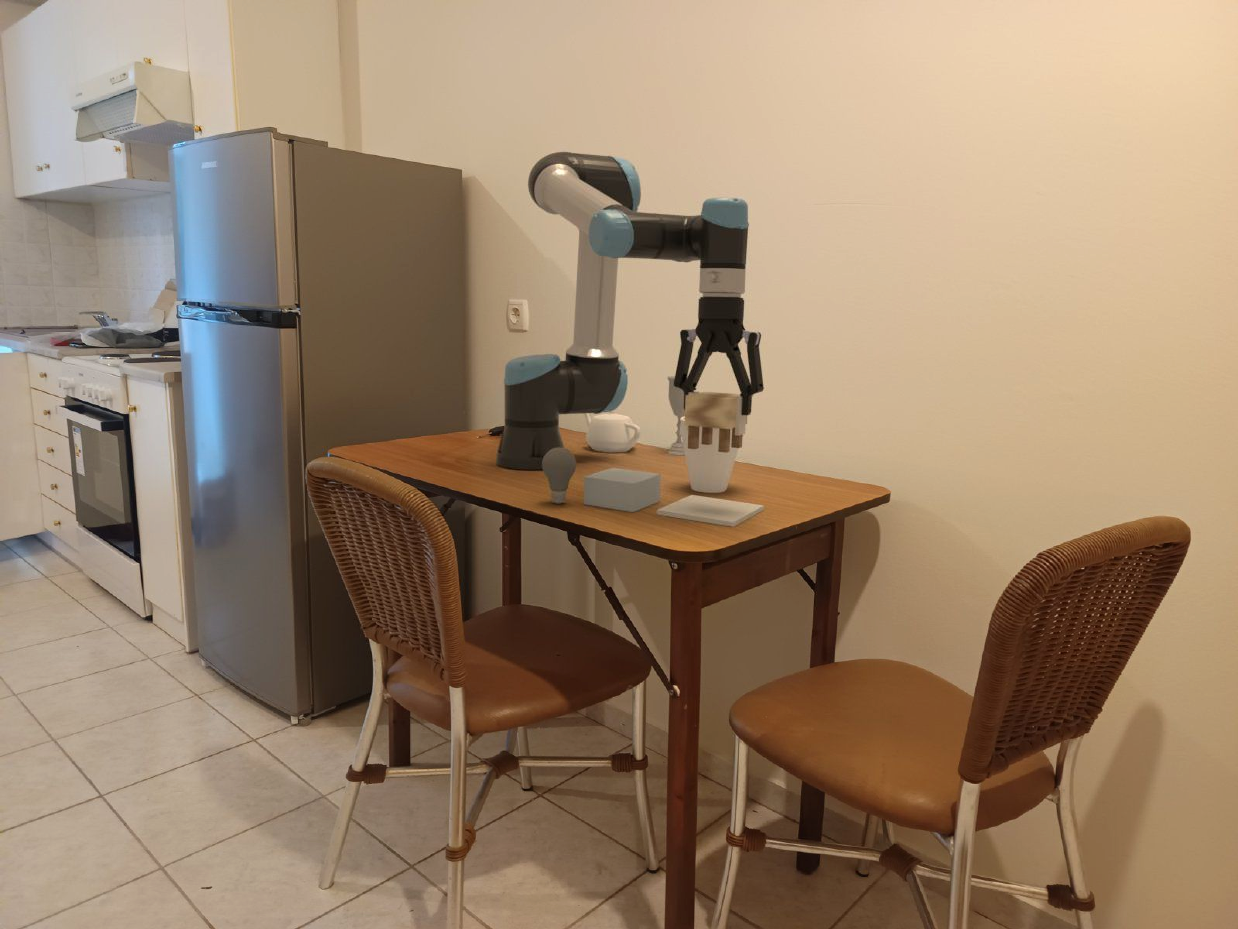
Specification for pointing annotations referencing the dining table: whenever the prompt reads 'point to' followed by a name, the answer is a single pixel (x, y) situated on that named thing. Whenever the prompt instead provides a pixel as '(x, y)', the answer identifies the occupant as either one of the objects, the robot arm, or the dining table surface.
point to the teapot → (611, 432)
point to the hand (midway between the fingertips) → (715, 432)
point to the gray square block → (622, 489)
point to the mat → (711, 510)
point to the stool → (712, 419)
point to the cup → (708, 462)
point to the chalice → (676, 414)
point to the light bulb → (558, 472)
